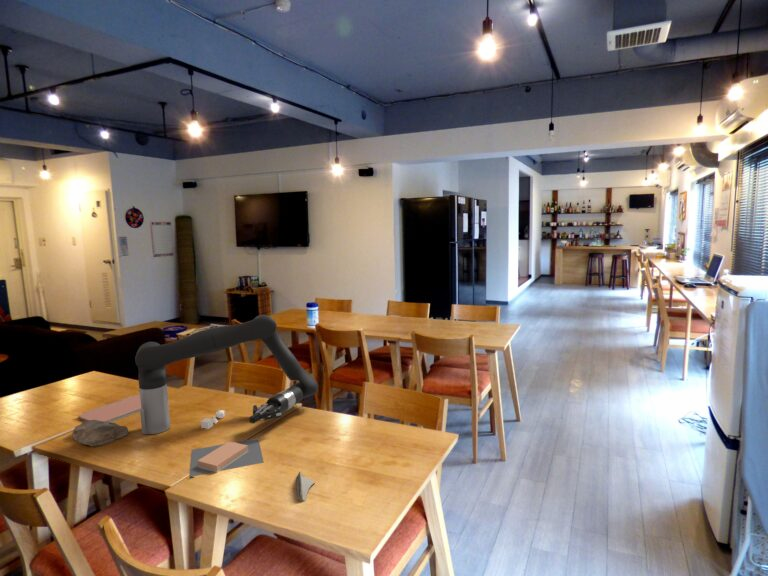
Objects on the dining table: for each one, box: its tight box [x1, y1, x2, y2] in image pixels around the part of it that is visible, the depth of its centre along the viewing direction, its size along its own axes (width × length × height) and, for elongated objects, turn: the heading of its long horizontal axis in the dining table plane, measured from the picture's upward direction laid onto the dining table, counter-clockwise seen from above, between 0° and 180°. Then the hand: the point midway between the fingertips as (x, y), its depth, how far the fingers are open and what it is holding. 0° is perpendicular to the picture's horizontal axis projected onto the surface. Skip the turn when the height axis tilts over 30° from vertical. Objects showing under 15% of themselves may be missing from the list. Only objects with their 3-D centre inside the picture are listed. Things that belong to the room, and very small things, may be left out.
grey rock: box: [72, 420, 129, 447], centre depth 168 cm, size 14×5×20 cm
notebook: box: [77, 394, 141, 423], centre depth 191 cm, size 27×17×2 cm, turn 149°
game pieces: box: [200, 409, 226, 430], centre depth 178 cm, size 12×3×3 cm, turn 166°
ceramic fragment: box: [296, 471, 316, 503], centre depth 133 cm, size 14×5×4 cm, turn 11°
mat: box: [188, 437, 264, 479], centre depth 151 cm, size 22×18×1 cm
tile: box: [198, 440, 248, 473], centre depth 148 cm, size 2×8×14 cm
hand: (251, 420), depth 160 cm, fingers closed
